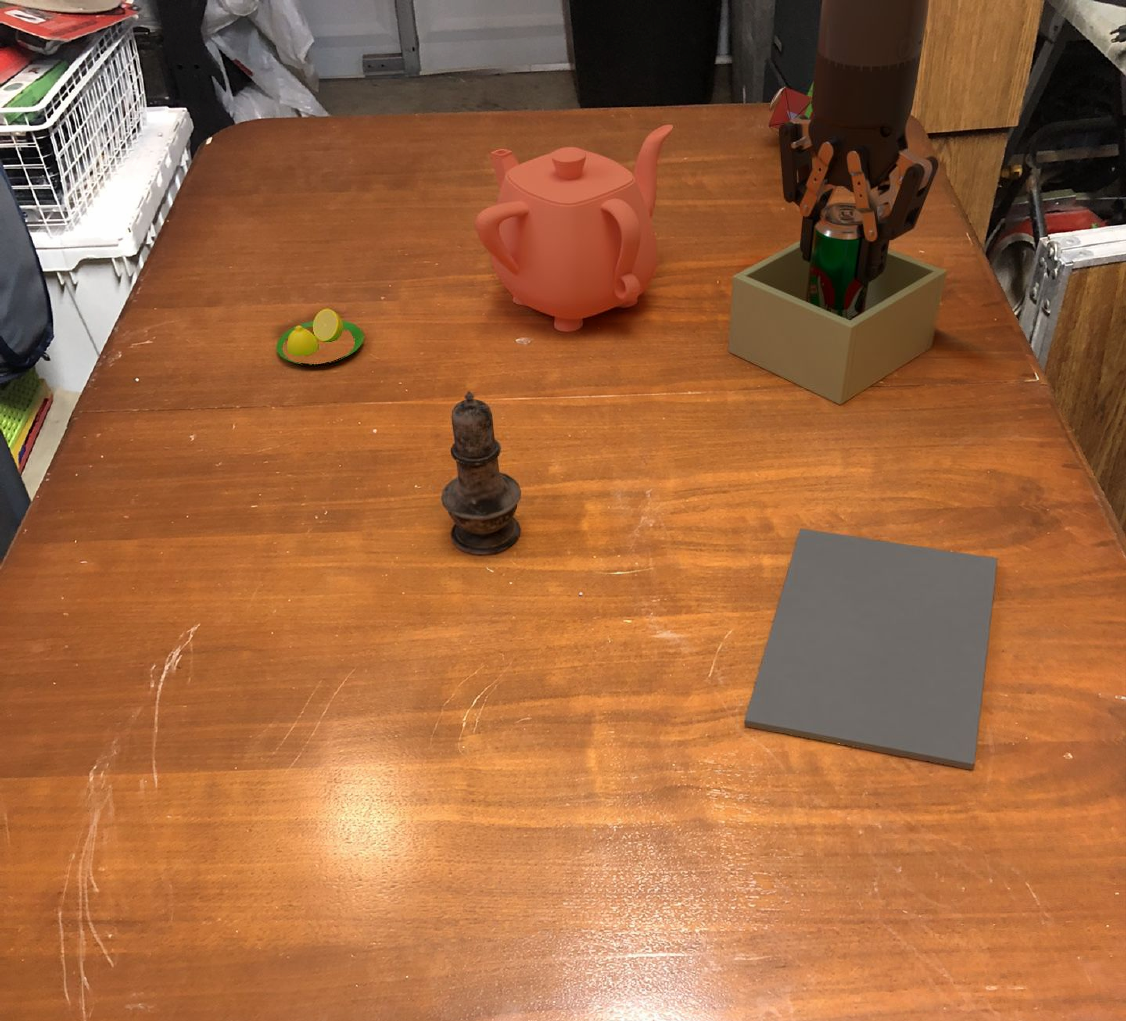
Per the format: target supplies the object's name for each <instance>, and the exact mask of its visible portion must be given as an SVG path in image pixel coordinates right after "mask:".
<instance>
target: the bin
mask: <svg viewBox="0 0 1126 1021" xmlns="http://www.w3.org/2000/svg"><path fill="white" fill-rule="evenodd" d="M802 254H803V252H801V249H800V240H798V241H797V242H795V243H792V244H790V245H788V246H787V247H785V248H783V249H781V250H779V251H776V253H774V254H772V255H770V256H768V257H766V258H764V259H762V260H761V261H759V262H756V263H754V264H753V265H751V266H749V267H747V268H745V269H743V270H741V271H740V272H737V273H736V274H734V275H733V276H732V281H731V282H732V283H731V297H730V312H729V313H730V314H729V327H728V328H729V331H728V346H727V352H729V353H730V354H732V355H734V356H737V357H739V358H741V359H742V360H744V361H747V362H749V363H751V364H753V365H755V366H758V367H759V368H761V369H763V370H766V371H768V372H769V373H772V374H774V375H776V376H778V377H781V378H782V379H784V380H787V381H789V382H791V383H793V384H795V385H798V386H800V387H801V388H804V389H805V390H808V391H810V392H812V393H814V394H816V395H818V396H820V397H823V398H824V399H827V400H829V401H831V402H833V403H834V404H836V405H837V404H838V405H839V406H840V405H843V404H844V403H846V402H848V401H849V400H851V399H852V398H854V397H856V396H857V395H858V394H861V393H862V392H863V391H865V390H867V389H868V388H870V387H871V386H873V385H874V384H876V383H879V381H880V380H882V379H884V378H886V377H888V376H889V375H891V374H892V373H893V372H895V371H897V370H899V369H900V368H901V367H903V366H904V365H906V364H908V363H909V362H911V361H912V360H914V359H915V358H917V357H919V356H920V355H922V354H923V353H925V352H926V351H928V350H930V349H931V348H932V346H933V340H934V336H935V331H936V326H937V321H938V317H939V311H940V307H941V302H942V296H943V293H944V288H945V283H946V278H947V273H948V272H947V270H946V269H944V268H940V267H938V266H935V265H933V264H930V263H927V262H925V261H923V260H920V259H918V258H915V257H912V256H910V255H906V254H904V253H901V252H898V251H896V250H893V249H891V248H888V253H887V260H886V266H885V269H884V271H883V273H882V274H880V275H878V277H877V278H876V279H874V280H872V281H871V282H869V285H868V292H867V298H866V305H865V311H864V313H862V314H860V315H859V316H857V317H855V318H853V319H852V320H851V321H850V320H848V319H845V318H843V317H841V316H838V315H836V314H834V313H831V312H829V311H827V310H824V309H822V308H820V307H817V306H815V305H813V304H810V303H808V302H806V292H807V283H808V275H809V266H810V262H807V261H805V260H803V259H802Z"/></svg>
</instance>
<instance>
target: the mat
mask: <svg viewBox="0 0 1126 1021" xmlns="http://www.w3.org/2000/svg"><path fill="white" fill-rule="evenodd" d="M998 559H999V558H998V557H991V556H985V555H978V554H972V553H964V552H959V551H952V550H945V549H938V548H932V547H927V546H919V545H914V544H913V545H912V544H905V543H899V542H892V541H887V540H879V539H873V538H868V537H867V538H866V537H860V536H853V535H848V534H840V533H834V532H827V531H820V530H814V529H813V530H812V529H808V528H800V529H799V531H798V535H797V538H796V542H795V546H794V548H793V552H792V556H791V559H790V562H789V566H788V569H787V573H786V577H785V579H784V580H785V581H784V583H783V587H782V590H781V593H780V597H779V601H778V604H777V608H776V610H775V614H774V618H773V622H772V625H771V627H770V628H771V629H770V632H769V635H768V639H767V642H766V645H765V649H764V652H763V655H762V659H761V663H760V665H759V670H758V673H757V677H756V680H755V684H754V687H753V691H752V694H751V697H750V700H749V703H748V704H749V705H748V708H747V711H746V714H745V718H744V724H743V726H744V727H747V728H751V729H756V728H757V729H756V730H761V731H766V732H772V733H777V732H778V734H782V733H785V734H784V735H787V734H789V735H788V736H793V735H796V736H795V737H798V736H801V737H800V738H803V737H805V738H804V739H808V738H810V739H809V740H813V739H818V740H817V741H819V740H822V741H821V742H824V741H825V742H824V743H829V742H832V743H831V744H834V743H840V744H843V745H842V746H844V745H847V746H846V747H850V746H854V747H853V748H855V747H857V748H856V749H860V748H861V749H862V750H865V751H870V750H871V751H870V752H876V753H882V754H887V755H891V754H892V755H891V756H896V757H902V758H907V757H908V759H912V760H918V761H922V762H927V761H929V762H928V763H932V764H938V763H939V764H938V765H943V764H944V765H943V766H948V765H949V767H953V766H954V768H959V769H963V770H964V769H965V770H969V769H970V771H973V769H974V768H975V764H976V756H977V755H976V754H977V747H978V737H979V727H980V719H981V710H982V703H983V702H982V700H983V693H984V684H985V675H986V665H987V656H988V648H989V639H990V631H991V621H992V614H993V613H992V612H993V605H994V596H995V595H994V594H995V587H996V586H995V585H996V576H997V569H998ZM791 734H792V735H791ZM828 741H829V742H828Z"/></svg>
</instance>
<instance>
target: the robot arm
mask: <svg viewBox="0 0 1126 1021" xmlns="http://www.w3.org/2000/svg"><path fill="white" fill-rule="evenodd" d="M929 7H930V0H822V1H821V7H820V8H821V9H820V15H819V25H818V34H817V44H816V55H815V62H814V63H815V64H814V73H813V79H814V80H813V81H814V82H813V81H812V84H813V92H812V101H811V107H812V110H813V112H814V116H813V118H812V119H811V120H809V119H808V117H807V116H805V115H802V116H800V117H798V118H794V119H792V120H790V121H788V122H787V123H784V124H782V125H781V126H780V127H779V129H778V137H779V138H778V142H779V155H780V165H781V166H780V167H781V168H780V169H781V180H782V181H781V183H782V193H783V199H784V200H785V202H786V203H789V204H791V203H794V204H795V205H796V206H797V207H798V209H799V213H800V214H801V215H802V218H801V219H802V220H801V228H800V236H799V237H800V239H799V241H800V249H801V252H803V254H802V259H803V260H805V261H807V262H810V257H811V249H812V240H813V231H814V224H815V222H816V221H817V220H818V218H819V217H820V212H821V210H822V209H823V208H824V207H826V206H827V205H830V204H831V201H832V199H833V197H834V194H835V193H836V190H837V188H838V187H843V188H844V189H846V190H847V191H849V192H850V193H852V194H853V195H854V203H856V209H857V210H858V211H859V212H861V214H862V221H863V228H864V234H865V238H863V239H862V244H861V250H860V257H859V264H858V271H857V278H856V280H857V282H860V283H862V284H867V283H869V282H871V281H872V280H874V279H876V278H877V277H878V275H880V274H882V273H883V271H884V269H885V266H886V260H887V253H888V249H889V245H890V241H894V240H896V239H897V238H899V237H901V236H903V235H904V234H907V233H908V232H911V231H912V230H914V229H915V227H916V225H917V222H918V220H919V218H920V216H921V213H922V210H923V207H924V205H925V202H926V199H927V197H928V194H929V192H930V189H931V187H932V185H933V182H934V179H935V177H936V174H937V172H938V169H939V161H938V159H937V158H936V157H935V156H934V155H930V156H929V155H928V156H927V157H926V158H922V157H920V156H919V155H917V154H916V153H914V152H913V151H912V150H910V149H909V142H908V138H907V130H906V128H907V124H908V121H909V119H910V116H911V114H912V110H913V107H914V102H915V95H916V89H917V83H918V77H919V71H920V63H921V58H922V52H923V46H924V39H925V33H926V28H927V21H928V15H929V14H928V13H929ZM811 148H812V149H813V151H814V153H815V154H814V155H815V157H816V161H815V163H814V165H813V152H812V149H811ZM896 168H898V171H899V174H898V178H897V179H896V184H897V185H898V186H899V187H898V188H899V189H898V191H897V192H896V184H895V177H894V170H895V169H896ZM873 189H876V191H875V192H874V193H872V190H873Z"/></svg>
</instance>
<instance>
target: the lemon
mask: <svg viewBox="0 0 1126 1021" xmlns="http://www.w3.org/2000/svg"><path fill="white" fill-rule="evenodd" d="M306 327H313V332H314V335H315V336H314V335H313V334H312V333H311V332H310V331H309V330H307V329H305V328H306ZM343 329H345V330H349V331H350V332H351V334H352V336H353V338H355V340H354V341H355V345H354V348H353V350H351V352H350V353H349V354H348V355H346V356H345V357H343V358H341V359H340V360H343V359H344V358H346V357H348V356H350V355H352V354H353V353H355V352H357V350H358V349H359V348H360V347H361V346H362V344H363V342H364V338H365V335H364V332H363V330H362V329H361V328H360V327H359V326H358V325H356V324H355V323H352V322H349V321H346V320H342V318H341V317H340V315H339V314H338V312H337V313H336V312H335V311H334V310H333V309H331V308H324V309H321V310H320V311H319V312H318V313H317V314H316V315H315V317H314V319H313V320H312V321H308V322H304V323H301V324H298V325H296V326H294V327H292V328H290V329H288V330H287V331H285V332H284V333H283V334H282V335H281V336H280V337H279V338H278V340H277V342H276V351H277V353H278V355H279V356H280V357H282V358H283V359H284V360H285V361H287V362H291V363H295V364H300V365H302V364H301V363H297V362H294V361H291V360H289V359H288V358H287V357H285V356H286V355H284V353H283V350H282V348H283V343H284V341H287V340H284V339H285V338H288V341H287V350H288V352H289V353H290V354H291V355H293V356H308V355H311V354H313V353H315V352H316V351H317V350H318V349H319V344H318V341H317V339H318V340H320V341H323V342H332V341H335V340H337V339H338V338H339V337H340V336H341V334H342V331H343ZM316 338H317V339H316ZM336 361H338V360H336ZM336 361H333V362H336ZM333 362H332V363H333ZM330 363H331V362H329V363H328V364H330ZM310 365H312V364H310ZM314 365H315V366H316V364H314ZM323 365H325V363H324V364H323ZM312 366H313V365H312Z"/></svg>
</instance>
